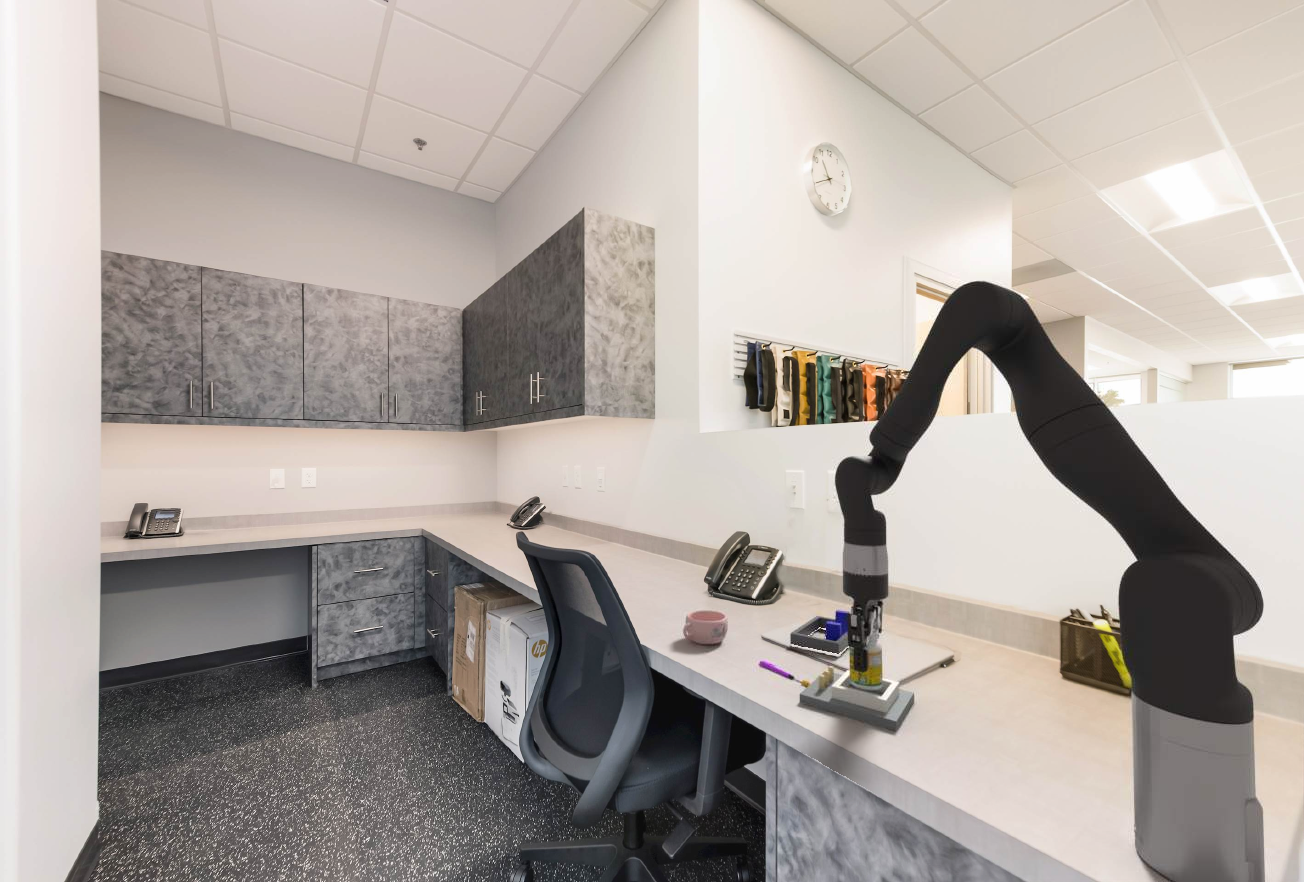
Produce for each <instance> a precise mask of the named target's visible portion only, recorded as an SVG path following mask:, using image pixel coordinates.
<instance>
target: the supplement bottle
mask: <svg viewBox="0 0 1304 882" xmlns="http://www.w3.org/2000/svg"><path fill="white" fill-rule="evenodd" d="M866 630H867V629H864V631H866ZM877 638H878V636H877V630H875V629H873V633H872V636H871V637H869V643H868V670H867V671H866V672H862V671H858V670H855V669H854V652H853V648H852V647H849V649H848V651H849V653H848V654H849V670H850V682H851V684H852V685H854V686H855V687H857V688H860V689H864V690H878V689H880V688H881V687H882V684H883V683H882V678H883V648H882V645H881V643H880V642H879V641H878V639H877ZM876 640H877V641H876ZM857 641H860V638H859V637H858V636H857Z"/></svg>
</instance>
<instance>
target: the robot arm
mask: <svg viewBox="0 0 1304 882" xmlns="http://www.w3.org/2000/svg"><path fill="white" fill-rule="evenodd" d="M971 349H976V350H978V351H980V352H982V354H984V355H985V356H986V357H987V359H989V360H990V362H991V363H992V364H993V366H995V368H997V370H998V372H999V373H1000V374H1001V375H1002V376H1003V378H1004V379H1005V381H1006V382H1007V385H1008V386H1009V388H1010V391H1011V394H1012V397H1013V402H1014V403H1013V404H1014V409H1015V412H1016V413H1015V414H1016V417H1017V421H1018V424H1019V427H1020V429H1021V431H1022V434H1023V435H1024V437H1025V438H1026V440H1027V441H1028V443H1029V445H1030V446H1031V448H1032V449H1033V450H1034V452H1035V454H1036V455H1037V456H1038V458H1039V459H1040V461H1041V462H1042V464H1043V465H1044V467H1045V468H1046V469H1047V471H1049V472H1050V474H1051V475H1052V476H1053V477H1054V478H1055V479H1056V480H1058V481H1059V483H1061V485H1062V486H1064V487H1065V488H1066V489H1068V490H1069V491H1070V492H1071V493H1072V494H1074V495H1075V496H1076V497H1077V498H1079V500H1080V501H1082V502H1083V503H1085V504H1086V505H1087V506H1089V507H1090V508H1091V509H1092V510H1094V511H1095V512H1096V513H1097V514H1099V515H1100V516H1101V517H1102V518H1104V519H1105V520H1106V522H1107V523H1109V524H1110V525H1111V527H1112V528H1113V529H1114V530H1115V531H1116V533H1118V534H1119V536H1120V537H1121V538H1122V540H1123V541H1124V542H1125V544H1126V546H1128V548H1129V550H1130V551H1131V552H1132V554H1133V555H1134V557H1135V559H1136V561H1133V563H1131V564H1130V565H1129V566H1128V567H1127V568H1126V570H1124V572H1123V574H1122V576H1121V578H1120V579H1121V580H1120V582H1119V587H1118V596H1117V597H1118V601H1117V602H1118V604H1117V605H1118V618H1119V632H1120V633H1119V634H1120V647H1121V656H1122V661H1123V663H1124V666H1125V669H1126V671H1127V672H1128V675H1129V677H1130V681H1131V717H1132V718H1131V719H1132V720H1131V721H1132V722H1131V724H1132V730H1131V731H1132V765H1133V766H1132V767H1133V810H1134V811H1133V812H1134V813H1133V814H1134V822H1133V823H1134V824H1133V831H1134V847H1135V850H1136V852H1137V854H1138V855H1139V856H1140V858H1141V859H1142V860H1143V861H1144V862H1145V863H1146V864H1147V865H1148V866H1150V867H1151V868H1152V869H1154V870H1155V871H1156V872H1157V873H1158V874H1159V873H1160V875H1162V876H1164V877H1165V878H1167V879H1169V880H1171V881H1172V882H1266V867H1265V836H1264V835H1265V834H1264V832H1265V830H1264V826H1265V825H1264V808H1263V806H1262V803H1260V801H1259V799H1258V797H1257V795H1256V794H1257V793H1256V792H1257V791H1256V766H1255V765H1256V762H1255V761H1256V759H1255V757H1256V756H1255V726H1254V724H1255V723H1254V722H1255V721H1254V718H1255V712H1254V711H1255V710H1254V696H1253V695H1252V693H1251V690H1250V689H1249V688H1248V687H1247V686H1246V685H1244V684H1243V682H1240V680H1238V676H1237V672H1236V660H1235V659H1236V658H1235V657H1236V656H1235V644H1234V636H1237V635H1241V634H1244V633H1247V632H1249V630H1252V629H1253V628H1254V627H1256V625H1257V624H1258V623H1259V621H1260V620H1261V618H1262V616H1263V613H1264V606H1265V605H1264V599H1263V594H1262V591H1261V589H1260V587H1259V584H1258V583H1257V581H1256V580H1255V578H1254V577H1253V575H1252V574H1251V573H1250V572H1249V571H1248V570H1247V569H1246V568H1245V566H1244V565H1242V563H1241V562H1239V560H1238V559H1237V558H1236V557H1235V556H1234V555H1233V554H1232V553H1231V552H1230V551H1229V550H1228V549H1227V548H1226V547H1224V545H1223V544H1222V543H1221V542H1219V540H1217V538H1216V537H1215V536H1213V534H1212V533H1211V532H1210V531H1209V530H1208V529H1207V528H1206V527H1205V526H1204V525H1203V524H1202V523H1201V522H1200V521H1199V520H1198V519H1197V518H1196V517H1195V516H1194V515H1193V514H1192V512H1191V511H1189V509H1187V507H1186V506H1185V505H1184V504H1183V503H1182V501H1181V500H1180V499H1179V498H1178V497H1177V495H1176V494H1175V493H1174V492H1173V490H1172V489H1171V488H1170V486H1169V485H1168V483H1167V482H1166V481H1165V479H1164V478H1163V477H1162V475H1161V473H1159V471H1158V470H1157V469H1156V467H1155V466H1154V465H1153V464H1152V462H1151V461H1150V460H1149V458H1147V456H1146V455H1145V454H1144V452H1143V451H1142V450H1141V449H1140V448H1139V446H1138V445H1137V443H1136V442H1135V441H1134V439H1133V437H1132V436H1130V434H1129V432H1128V431H1127V429H1126V428H1125V427H1124V426H1123V425H1122V423H1121V422H1120V421H1119V419H1118V418H1117V417H1116V416H1115V414H1114V413H1113V412H1112V411H1111V409H1110V408H1109V407H1108V406H1107V405H1106V404H1105V403H1104V401H1103V400H1102V399H1101V398H1100V397H1099V395H1097V394H1096V392H1095V391H1094V390H1093V389H1092V388H1091V387H1090V385H1089V384H1088V383H1087V382H1086V381H1085V380H1084V378H1083V377H1082V376H1081V375H1080V374H1079V372H1077V370H1076V369H1075V368H1074V367H1073V366H1072V365H1071V364H1070V363H1069V362H1067V360H1066V359H1065V358H1064V357H1063V356H1062V354H1060V352H1059V351H1058V349H1057V348H1056V347H1055V345H1054V344H1053V342H1052V341H1051V339H1050V337H1049V335H1048V334H1047V332H1046V330H1045V329H1044V327H1043V326H1042V324H1041V322H1040V321H1039V319H1038V317H1037V315H1036V314H1035V312H1034V311H1033V309H1032V307H1031V306H1030V304H1029V303H1028V301H1027V300H1026V299H1025V298H1024V297H1023V296H1022V295H1021V294H1019V293H1017V292H1016V291H1014V290H1012V289H1009V288H1007V287H1003V286H1001V285H998V284H996V283H993V282H990V281H986V280H972V281H969V282H966V283H963V284H962V285H960V286H958V287H957V288H956V289H954V291H953V292H951V294H950V295H949V296H948V297H947V298H946V299H945V302H944V303H943V305H942V307H941V308H940V310H939V312H938V314H937V316H936V317H935V320H934V321H933V324H932V326H931V328H930V330H929V332H928V334H927V337H926V338H925V340H924V342H923V344H922V347H921V349H920V350H919V352H918V354H917V355H916V358H915V360H914V362H913V365H912V366H911V368H910V370H909V372H908V374H907V376H906V378H905V380H904V381H903V383H902V385H901V387H900V389H899V390H898V392H897V393H896V395H895V396H894V397H893V399H892V401H891V403H890V404H889V405H888V406H887V408H886V409H885V411H884V412H883V414H882V415H881V416H880V418H879V419H878V420H877V422H876V423H875V425H874V426H873V428H872V430H871V431H870V434H869V436H868V439H869V443H870V444H871V446H872V448H871V451H870V452H869V453H868V455H853V456H852V455H851V456H847V457H846V458H845V457H844V459H842V460H840V463H838V465H837V467H836V470H835V474H834V475H835V476H834V486H835V491H836V495H837V498H838V502H839V506H840V510H841V513H842V517H843V549H842V550H843V551H842V592H843V594H844V595H845V596H847V597H850V598H852V600H853V602H852V603H853V604H852V605H851V607H850V613H847V615H846V620H847V634H848V646H849V647H852V648H853V652H854V669H855V670H858V671H862V672H866V671H867V670H868V643H869V637H871V636H872V633H873V629H875V630H877V636H878V638H877V640H876V641H877V642H878V640H879V639H880V634H882V632H883V608H884V607H883V606H884V602H883V600H885V599H887V598H888V597H889V554H888V547H887V546H888V545H887V519H886V515H885V514H884V512H882V511H880V510H879V509H875V507H874V502H873V498H872V496H878V495H882V494H883V493H885V492H887V491H888V490H889V489H890V488H892V487H893V485H894V484H895V483H896V481H897V480H898V478H899V477H900V473H901V472H902V470H903V467H904V466H905V462H906V461H907V457H908V455H909V453H910V452H911V451H912V449H914V447H915V446H916V445H917V443H918V442H919V441H920V440H921V438H922V437H923V435H924V434H925V433H926V431H927V430H928V429H929V427H930V426H931V425H932V423H933V421H934V419H935V418H936V415H937V413H938V409H939V407H940V403H941V399H942V395H943V392H944V389H945V386H946V383H947V381H948V379H949V377H950V375H951V373H952V372H953V370H955V367H956V366H957V364H958V363H959V362H960V361H961V360H962V359H963V357H964V356H965V355H966V354H967V353H968V352H969V351H970V350H971ZM864 629H867V630H866V631H864ZM857 636H858V637H859V638H860V641H857Z"/></svg>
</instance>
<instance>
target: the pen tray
mask: <svg viewBox="0 0 1304 882" xmlns="http://www.w3.org/2000/svg"><path fill="white" fill-rule="evenodd" d="M827 621H828V622H830V621H832V622H835V618H831V617H825V616H820V615H816V616H815V617H813V618H812V619H810V620H808V621H807V622H805V623H804V624H802V625H801V626H799V627H798V628H796V629H795V630H793V631H791V632H790V635H789V636H790V643H789V644H794V645H798V646H801V647H808V648H813V649H817V650H822V651H827V652H832V653H837V654H839V653H840V652H842V651H843V650H844V649H845V648H846V647H848V634H847V632H846V633H845V634H844V635H843V636H842V637H840V638H839V639H838V640H837V641H832V640H827V639H825V638H821V637H817V636H813V635H811V636H808V635H810V634H811V633H812V632H814V631H815V630H817V629H818V628H819V627H821V628H826V623H827Z"/></svg>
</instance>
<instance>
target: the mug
mask: <svg viewBox="0 0 1304 882" xmlns="http://www.w3.org/2000/svg"><path fill="white" fill-rule="evenodd" d="M728 623H729V621H728V617H727V615H725V614H724V613H723V612H721V611H716V610H709V609H708V610H707V609H706V610H705V609H703V610H702V609H701V610H694V611H691V612H689V613H688V614H687V615H686V617H685V625H684V627H683V630H682V633H683V634H682V635H683V636H684V637H685V639H690V640H691V641H692V642H694V643H696V644H697V643H698V644H701V645H714V644H715V645H716V644H719V643H721V642H722V641H724V639H725V638H726V637H727V633H728V629H729V624H728Z"/></svg>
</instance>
